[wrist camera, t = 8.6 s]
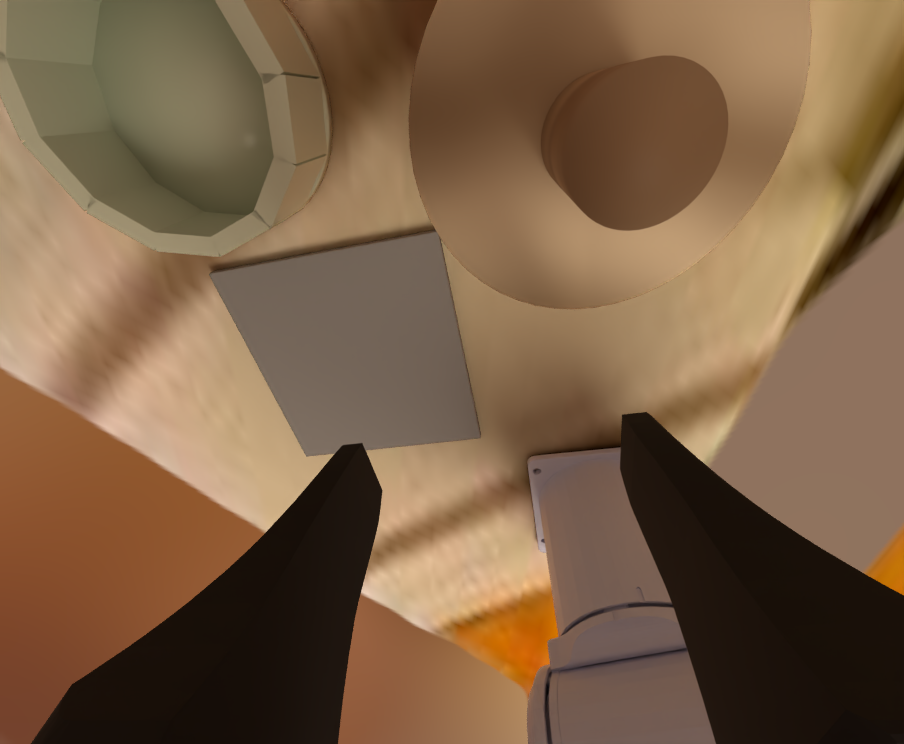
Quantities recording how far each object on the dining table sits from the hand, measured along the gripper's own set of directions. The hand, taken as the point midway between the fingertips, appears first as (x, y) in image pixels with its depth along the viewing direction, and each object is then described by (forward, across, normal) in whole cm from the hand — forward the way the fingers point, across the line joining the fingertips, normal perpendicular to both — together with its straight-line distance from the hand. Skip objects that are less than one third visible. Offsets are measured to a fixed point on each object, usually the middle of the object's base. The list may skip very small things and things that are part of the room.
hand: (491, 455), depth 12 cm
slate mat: (+10, +7, +2) cm, 12 cm away
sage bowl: (+10, +9, -10) cm, 17 cm away
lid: (+6, -4, -7) cm, 10 cm away
